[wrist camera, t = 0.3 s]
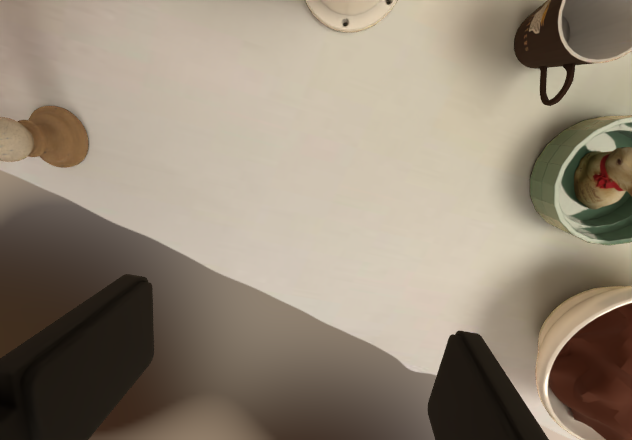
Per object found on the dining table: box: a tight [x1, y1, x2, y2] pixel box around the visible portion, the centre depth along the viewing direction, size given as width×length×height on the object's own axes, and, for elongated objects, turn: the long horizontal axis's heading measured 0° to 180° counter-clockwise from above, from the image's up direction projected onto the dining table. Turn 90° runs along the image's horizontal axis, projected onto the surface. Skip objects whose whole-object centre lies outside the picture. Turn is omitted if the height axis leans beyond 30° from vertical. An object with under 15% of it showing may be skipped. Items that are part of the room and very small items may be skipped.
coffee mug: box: [514, 0, 632, 106], centre depth 33 cm, size 12×9×10 cm
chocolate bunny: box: [574, 147, 632, 209], centre depth 36 cm, size 6×8×10 cm
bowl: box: [530, 115, 632, 245], centre depth 39 cm, size 15×15×6 cm
